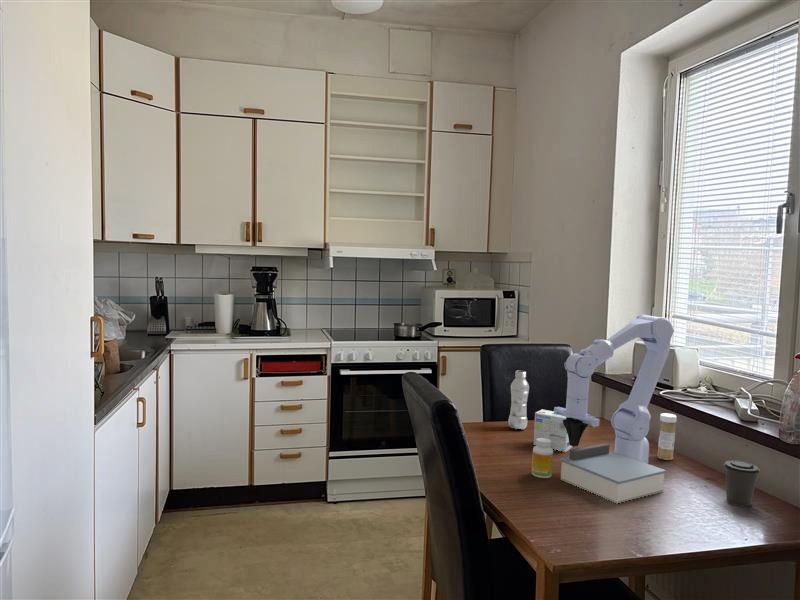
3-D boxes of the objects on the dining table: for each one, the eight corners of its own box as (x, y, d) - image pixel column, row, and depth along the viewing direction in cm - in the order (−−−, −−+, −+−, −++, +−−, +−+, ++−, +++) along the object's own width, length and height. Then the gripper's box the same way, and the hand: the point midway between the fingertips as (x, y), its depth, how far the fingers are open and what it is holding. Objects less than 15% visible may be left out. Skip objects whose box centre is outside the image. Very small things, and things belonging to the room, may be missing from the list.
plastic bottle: (508, 430, 209) (511, 372, 208) (507, 425, 216) (511, 369, 214) (527, 432, 208) (530, 374, 207) (526, 427, 215) (530, 370, 213)
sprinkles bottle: (661, 454, 190) (665, 412, 189) (676, 459, 186) (679, 415, 185) (654, 457, 187) (657, 413, 186) (668, 461, 183) (672, 417, 182)
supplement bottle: (552, 479, 164) (554, 443, 163) (531, 477, 165) (533, 441, 164) (551, 472, 169) (553, 438, 168) (531, 470, 170) (533, 436, 169)
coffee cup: (760, 510, 149) (764, 470, 148) (722, 504, 151) (726, 465, 151) (753, 499, 156) (757, 460, 156) (718, 493, 159) (721, 455, 158)
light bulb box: (572, 448, 193) (574, 414, 192) (565, 453, 187) (568, 418, 187) (539, 441, 199) (541, 408, 198) (532, 446, 193) (534, 412, 192)
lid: (606, 451, 174) (607, 441, 173) (665, 472, 158) (666, 461, 158) (560, 460, 164) (560, 449, 163) (618, 484, 148) (619, 472, 148)
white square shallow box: (605, 469, 173) (606, 452, 173) (662, 491, 158) (664, 472, 158) (560, 479, 164) (561, 461, 163) (617, 504, 149) (618, 484, 148)
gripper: (547, 393, 174) (544, 440, 175) (588, 404, 162) (584, 455, 163) (565, 391, 178) (561, 437, 179) (605, 402, 166) (602, 451, 167)
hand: (573, 445), depth 171 cm, fingers closed
